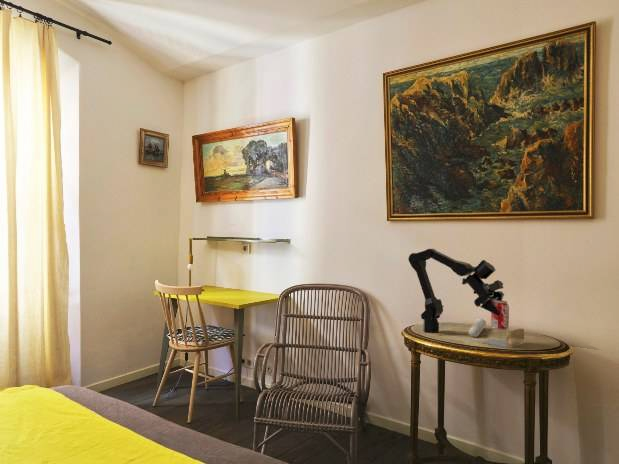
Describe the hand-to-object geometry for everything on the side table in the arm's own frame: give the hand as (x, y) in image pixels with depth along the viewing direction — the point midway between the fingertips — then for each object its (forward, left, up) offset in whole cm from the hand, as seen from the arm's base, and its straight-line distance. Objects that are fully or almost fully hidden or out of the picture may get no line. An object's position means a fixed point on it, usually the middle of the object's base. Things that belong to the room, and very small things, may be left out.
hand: (503, 314), depth 187 cm
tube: (-4, +23, -13) cm, 27 cm away
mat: (-1, +1, -13) cm, 13 cm away
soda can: (-1, +1, -7) cm, 7 cm away
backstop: (+5, 0, -13) cm, 14 cm away
